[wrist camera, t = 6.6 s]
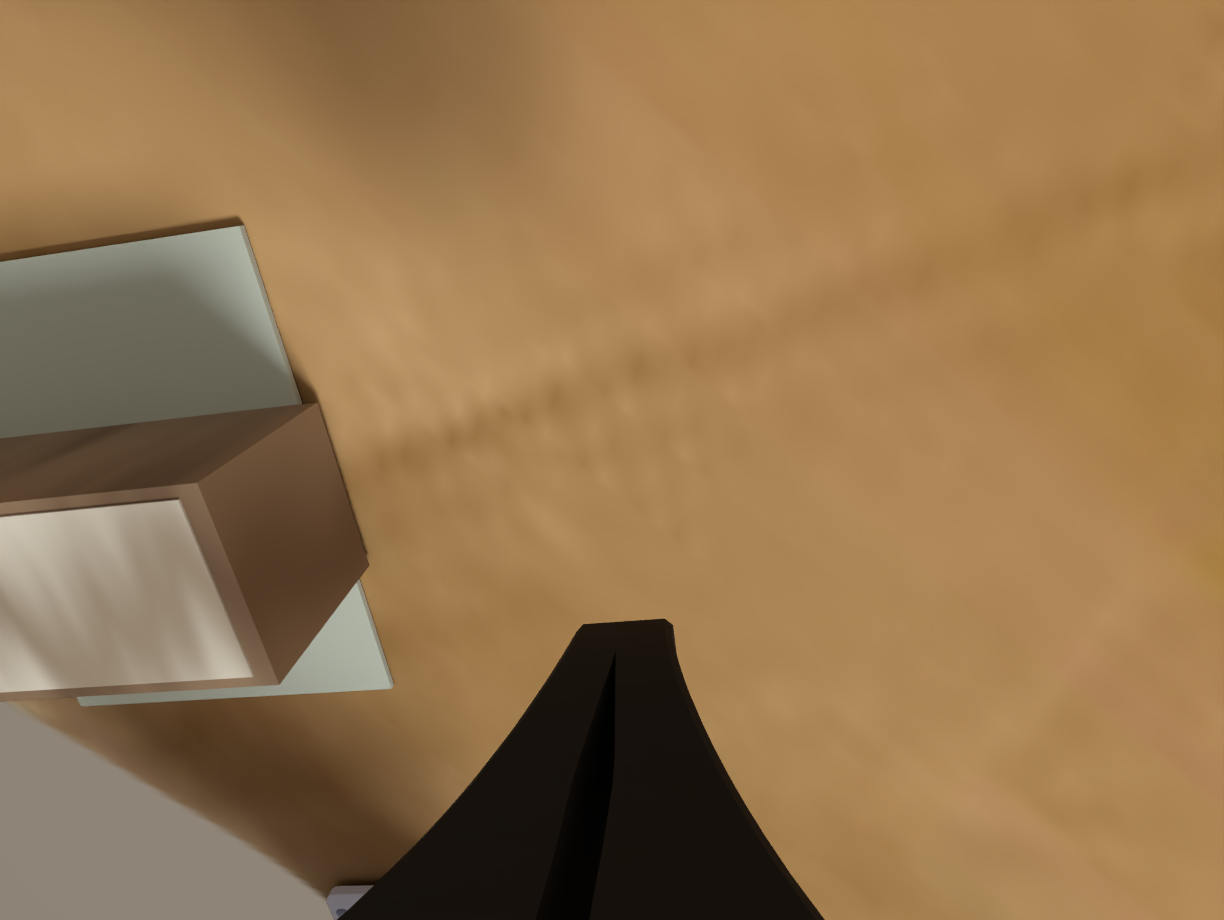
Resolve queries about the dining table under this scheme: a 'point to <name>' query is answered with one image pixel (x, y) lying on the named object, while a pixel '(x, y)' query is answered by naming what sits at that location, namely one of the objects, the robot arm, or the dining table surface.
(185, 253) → the pad
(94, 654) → the walnut block
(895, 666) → the dining table surface
